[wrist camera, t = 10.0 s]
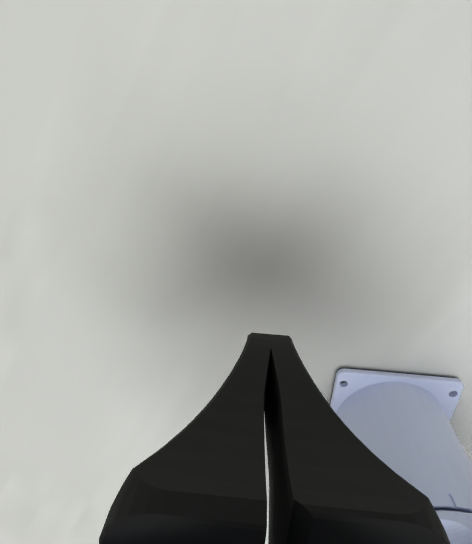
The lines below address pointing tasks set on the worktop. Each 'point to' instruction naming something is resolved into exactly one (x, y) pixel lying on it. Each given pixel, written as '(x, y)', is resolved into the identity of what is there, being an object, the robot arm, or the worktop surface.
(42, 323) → the worktop surface
